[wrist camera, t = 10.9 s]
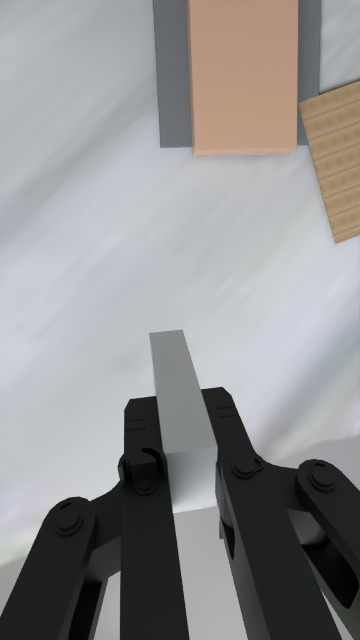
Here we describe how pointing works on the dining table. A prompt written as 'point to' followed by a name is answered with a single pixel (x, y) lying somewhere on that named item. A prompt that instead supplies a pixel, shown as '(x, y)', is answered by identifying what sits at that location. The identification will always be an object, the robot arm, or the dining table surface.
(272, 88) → the tile
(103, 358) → the dining table surface
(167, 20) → the mat
